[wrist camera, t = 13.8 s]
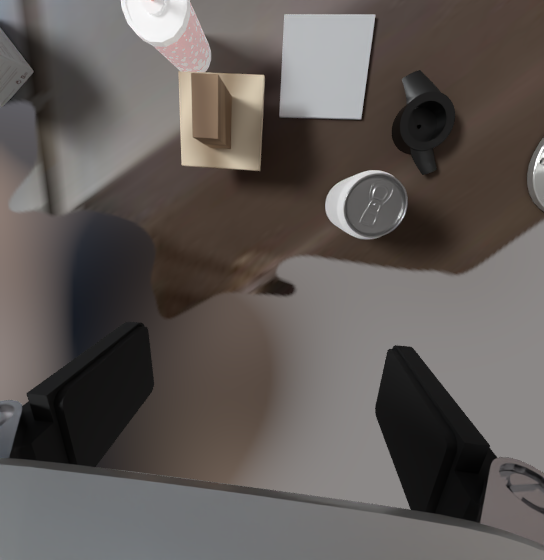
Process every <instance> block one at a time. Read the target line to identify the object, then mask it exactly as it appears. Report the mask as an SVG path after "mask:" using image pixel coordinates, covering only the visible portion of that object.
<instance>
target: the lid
mask: <svg viewBox="0 0 544 560" xmlns="http://www.w3.org/2000/svg"><path fill="white" fill-rule="evenodd" d="M178 72H179V100H180V128H181V156H182V165H183V166H191V167H206V168H221V169H236V170H251V171H260V166H261V146H262V127H263V108H264V88H265V77H264V75H254V74H230V73H207V72H184V71H178Z"/></svg>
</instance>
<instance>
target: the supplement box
mask: <svg viewBox="0 0 544 560" xmlns="http://www.w3.org/2000/svg"><path fill="white" fill-rule="evenodd" d="M33 72H34V71H33V70H32V68H31V67H30V66H29V64H28V63H27V62H26V60H25V59H24V58H23V56H22V55H21V54H20V53H19V51H18V50H17V49H16V47H15V46H14V45H13V43H12V42H11V41H10V39H9V38H8V37H7V36H6V34H5V33H4V32H3V30H2V29H1V28H0V107H3V106H4V105H5V104H6V103H7V102H8V101H9V100H10V99H11V98H12V97H13V95H14V94H15V93H16V92H17V91H18V90H19V89H20V88H21V86H22V85H23V84H24V83H25V82H26V81H27V80H28V78H29V77H30V76H31V75H32V74H33Z"/></svg>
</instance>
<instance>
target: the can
mask: <svg viewBox="0 0 544 560" xmlns="http://www.w3.org/2000/svg"><path fill="white" fill-rule="evenodd" d="M407 206H408V198H407V193H406V190H405V188H404V186H403V185H402V183H401V182H400V181H399V180H398V179H396V178H395V177H394V176H392V175H391V174H389V173H386V172H383V171H378V170H371V171H365V172H362V173H359V174H356V175H354V176H352V177H349V178H347V179H344V180H342V181H340V182H339V183H337V184H336V185H335V186H334V187H333V188H332V189H331V190H330V192H329V193H328V195H327V198H326V203H325V209H326V213H327V216H328V218H329V219H330V221H331V222H332V223H333V224H334V225H336V226H337V227H339V228H340V229H342V230H343V231H345V232H346V233H348V234H350V235H352V236H354V237H356V238H360V239H374V238H378V237H381V236H383V235H386V234H388V233H390V232H391V231H393V230H394V229H395V228H396V227H397V226H398V225H399V224H400V223H401V221H402V220H403V218H404V216H405V214H406V211H407Z"/></svg>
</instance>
